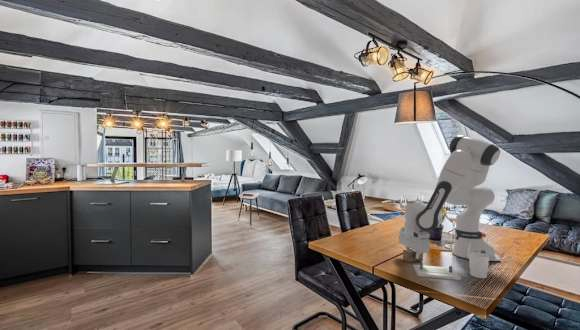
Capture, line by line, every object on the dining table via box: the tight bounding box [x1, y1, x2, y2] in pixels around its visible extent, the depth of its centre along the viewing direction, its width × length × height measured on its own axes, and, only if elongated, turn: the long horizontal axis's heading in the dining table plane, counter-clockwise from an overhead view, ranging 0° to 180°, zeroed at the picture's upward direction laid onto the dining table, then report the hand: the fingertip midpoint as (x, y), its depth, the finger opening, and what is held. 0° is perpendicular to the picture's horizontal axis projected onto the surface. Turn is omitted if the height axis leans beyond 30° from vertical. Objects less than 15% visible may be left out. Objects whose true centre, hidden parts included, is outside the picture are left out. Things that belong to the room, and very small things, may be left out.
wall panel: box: [413, 262, 462, 281], centre depth 139 cm, size 18×12×4 cm, turn 77°
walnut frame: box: [402, 249, 424, 263], centre depth 154 cm, size 9×4×5 cm, turn 97°
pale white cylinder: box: [468, 252, 490, 279], centre depth 137 cm, size 8×8×10 cm
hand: (412, 256), depth 154 cm, fingers closed on walnut frame, 4 cm apart
